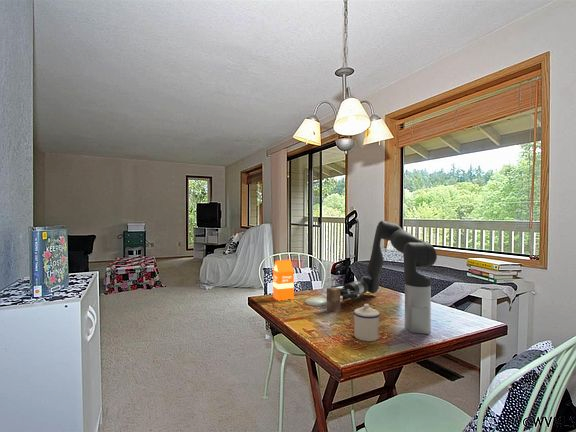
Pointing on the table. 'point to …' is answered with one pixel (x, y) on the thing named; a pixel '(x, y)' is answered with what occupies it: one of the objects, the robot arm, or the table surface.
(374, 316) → the teacup with lid
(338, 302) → the walnut block
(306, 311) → the table surface
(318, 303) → the white plate
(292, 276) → the orange juice
